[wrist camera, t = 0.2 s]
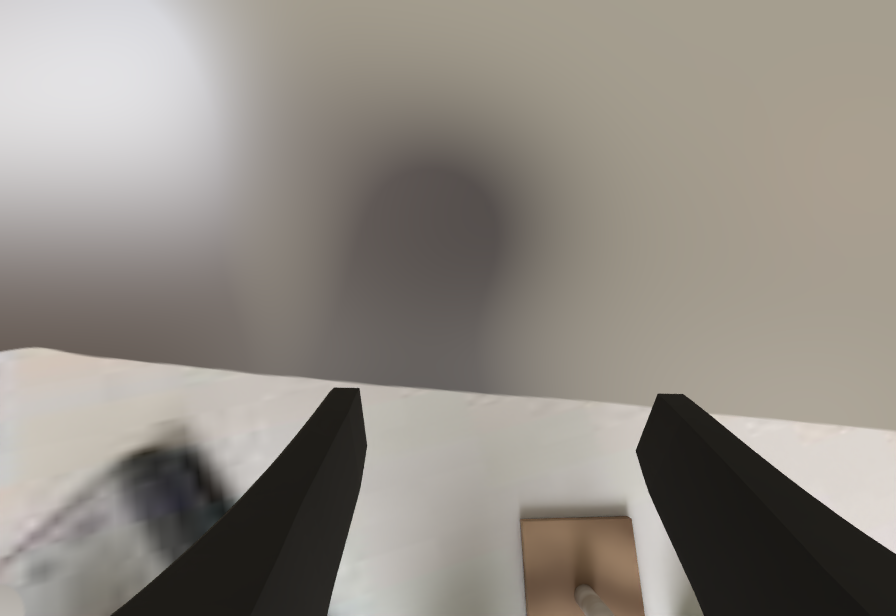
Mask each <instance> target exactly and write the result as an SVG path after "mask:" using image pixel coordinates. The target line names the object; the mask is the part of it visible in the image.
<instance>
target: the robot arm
mask: <svg viewBox="0 0 896 616" xmlns="http://www.w3.org/2000/svg"><path fill="white" fill-rule="evenodd" d="M366 449H367V441H366V434H365V426H364V419H363V411H362V404H361V396H360V389H359V388H333V389H332V390H331V391H330V392H329V394H328V395H327V396H326V398H325V399H324V400H323V402H322V403H321V404H320V406H319V407H318V408H317V409H316V411H315V412H314V413H313V415H312V416H311V417H310V419H309V420H308V421H307V422H306V424H305V425H304V426H303V427H302V429H301V430H300V431H299V432H298V434H297V435H296V436H295V437H294V438H293V440H292V441H291V442H290V443H289V444H288V446H287V447H286V448H285V449H284V450H283V452H282V453H281V454H280V455H279V456H278V457H277V459H276V460H275V461H274V462H273V463H272V464H271V466H270V467H269V468H268V469H267V470H266V471H265V472H264V473H263V474H262V475H261V476H260V478H259V479H258V480H257V481H256V482H255V483H254V484H253V485H252V486H251V487H250V488H249V490H248V491H247V492H246V493H245V494H244V495H243V496H242V497H241V498H240V499H239V500H238V501H237V502H236V503H235V504H234V505H233V506H232V507H231V508H230V509H229V510H228V511H227V512H226V513H225V514H224V515H223V516H222V517H221V518H220V519H219V520H218V521H217V522H216V523H215V524H214V525H213V526H212V527H211V528H210V529H209V530H208V531H207V532H206V533H205V534H204V535H203V536H202V537H201V538H200V539H199V540H198V541H196V542H195V543H194V544H193V545H192V546H191V547H190V548H189V549H188V550H187V551H186V552H184V553H183V554H182V555H181V556H180V557H179V558H178V559H177V560H175V561H174V562H173V563H172V564H171V565H170V566H169V567H168V568H166V569H165V570H164V571H163V572H162V573H161V574H160V575H159V576H158V577H156V578H155V579H154V580H153V581H152V582H151V583H149V584H148V585H147V586H146V587H145V588H144V589H142V590H141V591H140V592H139V593H138V594H136V595H135V596H134V597H133V598H132V599H130V600H129V601H128V602H127V603H126V604H124V605H123V606H122V607H121V608H119V609H118V610H117V611H116V612H114V613H113V614H112V615H111V616H327V614H328V608H329V604H330V600H331V596H332V591H333V587H334V583H335V580H336V576H337V572H338V569H339V565H340V561H341V558H342V554H343V550H344V547H345V543H346V539H347V536H348V532H349V528H350V525H351V521H352V517H353V513H354V510H355V506H356V502H357V498H358V495H359V491H360V487H361V481H362V475H363V469H364V463H365V456H366ZM636 453H637V457H638V460H639V463H640V467H641V470H642V473H643V476H644V479H645V482H646V485H647V488H648V491H649V494H650V496H651V498H652V501H653V503H654V505H655V507H656V510H657V512H658V514H659V516H660V519H661V521H662V523H663V525H664V527H665V530H666V532H667V534H668V536H669V538H670V540H671V543H672V545H673V547H674V549H675V551H676V553H677V556H678V558H679V560H680V562H681V564H682V566H683V569H684V571H685V573H686V575H687V577H688V579H689V582H690V584H691V586H692V588H693V590H694V592H695V595H696V597H697V600H698V602H699V604H700V607H701V609H702V612H703V614H704V616H896V554H895V553H893V552H892V551H890V550H889V549H887V548H886V547H884V546H883V545H881V544H880V543H878V542H877V541H875V540H874V539H872V538H871V537H869V536H868V535H866V534H865V533H863V532H862V531H860V530H859V529H858V528H856V527H855V526H853V525H852V524H850V523H849V522H847V521H846V520H845V519H843V518H842V517H840V516H839V515H838V514H836V513H835V512H834V511H832V510H831V509H829V508H828V507H827V506H825V505H824V504H823V503H821V502H820V501H819V500H817V499H816V498H814V497H813V496H812V495H810V494H809V493H808V492H806V491H805V490H804V489H802V488H801V487H800V486H798V485H797V484H796V483H794V482H793V481H792V480H790V479H789V478H788V477H787V476H785V475H784V474H783V473H781V472H780V471H779V470H778V469H776V468H775V467H774V466H772V465H771V464H770V463H769V462H767V461H766V460H765V459H764V458H762V457H761V456H760V455H759V454H757V453H756V452H755V451H754V450H752V449H751V448H750V447H749V446H747V445H746V444H745V443H744V442H742V441H741V440H740V439H739V438H737V437H736V436H735V435H734V434H733V433H731V432H730V431H729V430H728V429H726V428H725V427H724V426H723V425H722V424H720V423H719V422H718V421H717V420H715V419H714V418H713V417H712V416H710V415H709V414H708V413H707V412H706V411H704V410H703V409H702V408H701V407H699V406H698V405H697V404H695V403H694V402H693V401H692V400H690V399H689V398H688V397H686V396H685V395H683V394H657V397H656V400H655V402H654V405H653V407H652V410H651V412H650V415H649V418H648V420H647V423H646V425H645V428H644V430H643V433H642V436H641V438H640V441H639V443H638V446H637V449H636Z"/></svg>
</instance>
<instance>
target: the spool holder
mask: <svg viewBox="0 0 896 616" xmlns="http://www.w3.org/2000/svg"><path fill="white" fill-rule="evenodd" d="M520 522H521V537H522V551H523V566H524V580H525V595H526V610H527V616H645V614H644V606H643V599H642V592H641V585H640V577H639V570H638V563H637V555H636V548H635V541H634V534H633V526H632V519H631V518H629V517H627V516H615V517H579V518H544V519H520Z"/></svg>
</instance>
